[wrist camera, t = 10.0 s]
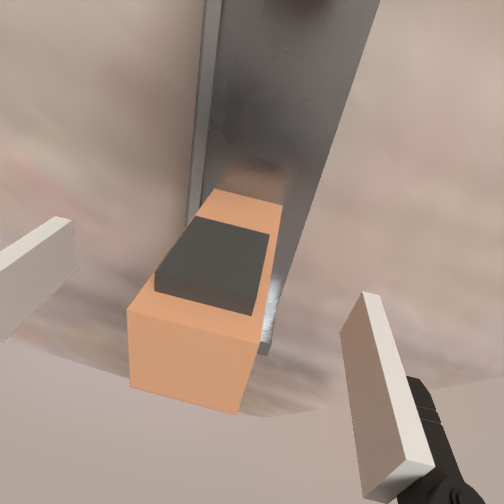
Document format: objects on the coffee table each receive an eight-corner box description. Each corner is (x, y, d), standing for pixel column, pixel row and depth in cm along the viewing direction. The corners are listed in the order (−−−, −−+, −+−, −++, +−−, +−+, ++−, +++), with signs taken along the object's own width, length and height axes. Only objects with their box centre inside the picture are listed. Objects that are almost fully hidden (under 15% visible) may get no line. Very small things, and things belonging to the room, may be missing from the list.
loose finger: (201, 281, 21) (131, 427, 13) (216, 175, 17) (125, 289, 8) (257, 296, 21) (224, 452, 13) (286, 192, 17) (265, 325, 8)
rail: (188, 282, 24) (162, 328, 20) (266, -475, 8) (227, -998, 4) (274, 304, 24) (266, 356, 20) (513, -425, 8) (720, -915, 4)
